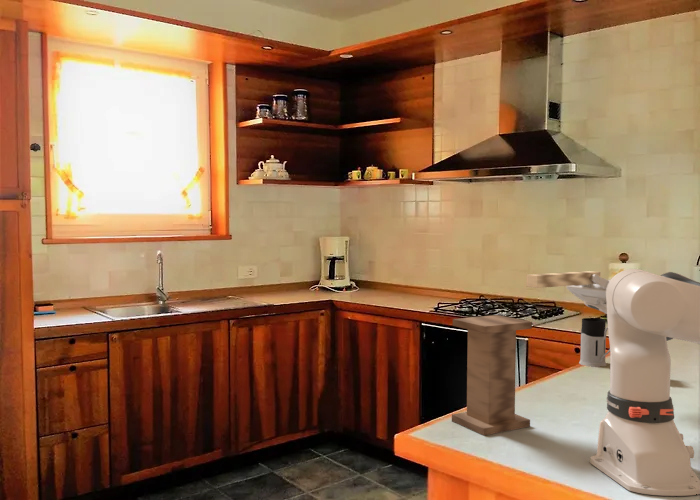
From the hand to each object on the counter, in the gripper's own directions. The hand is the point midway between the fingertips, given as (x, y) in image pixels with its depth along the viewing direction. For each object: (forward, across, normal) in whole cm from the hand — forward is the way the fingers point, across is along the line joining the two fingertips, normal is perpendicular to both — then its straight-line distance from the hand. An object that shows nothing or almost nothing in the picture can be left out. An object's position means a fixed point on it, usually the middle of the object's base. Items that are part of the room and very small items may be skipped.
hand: (584, 276), depth 172 cm
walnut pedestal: (+10, 0, -45) cm, 46 cm away
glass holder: (-53, +31, -9) cm, 62 cm away
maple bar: (+5, 0, -5) cm, 7 cm away
